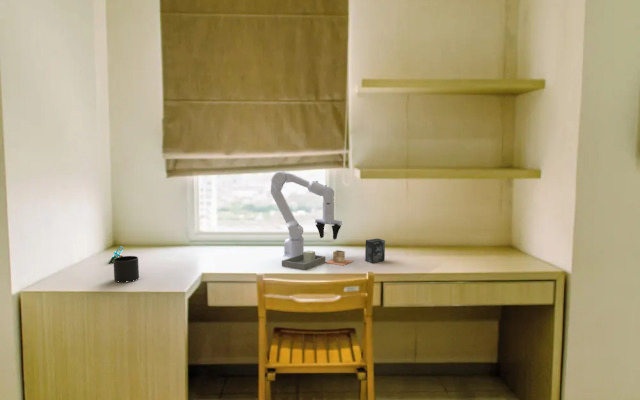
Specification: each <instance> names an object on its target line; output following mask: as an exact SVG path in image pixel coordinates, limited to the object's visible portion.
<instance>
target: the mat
mask: <svg viewBox="0 0 640 400" xmlns="http://www.w3.org/2000/svg"><path fill="white" fill-rule="evenodd" d="M353 262H354V260H350V259H345V262H342V263H336V262H333V258H332V259H330V260H327V261H325V262H324V264H329V265H336V266H342V267H344V266H346V265H349V264H351V263H353Z"/></svg>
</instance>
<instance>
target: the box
mask: <svg viewBox="0 0 640 400" xmlns="http://www.w3.org/2000/svg"><path fill="white" fill-rule="evenodd" d="M385 248H386V240H385V239H382V238H371V239H370V238H369V239H365V256H364V257H365V258H364V261H365V262H367V263H370V264H375V263H380V262H381V263H382V262H383V261H384V262H385V261H386V260H385V255H386V253H385V252H386V250H385Z"/></svg>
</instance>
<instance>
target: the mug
mask: <svg viewBox="0 0 640 400" xmlns="http://www.w3.org/2000/svg"><path fill="white" fill-rule="evenodd" d="M122 256H123V257H119V256H118V258H115V259H114V260H113V262H112V263H113V277H114V278H113V279H114V282H115V281H119V282H126V281H133V280H136V279H138V278H140V271H139V257H138V256H134V255H125V256H124V255H122ZM138 280H139V279H138ZM136 281H137V280H136ZM119 282H118V283H119ZM133 282H134V281H133Z"/></svg>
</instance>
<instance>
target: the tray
mask: <svg viewBox="0 0 640 400" xmlns="http://www.w3.org/2000/svg"><path fill="white" fill-rule="evenodd" d="M325 262H326V256H323V255H316V254H315V260H313V261H310V262H307V263H304V253H303V254H300V255H297V256H294V257H288V258H287V259H283V260H281V267H283V268H290V269H296V270H302V271H306V270H308V269H311V268H314V267H317V266H318V265H321V264H323V263H324V264H325Z"/></svg>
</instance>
